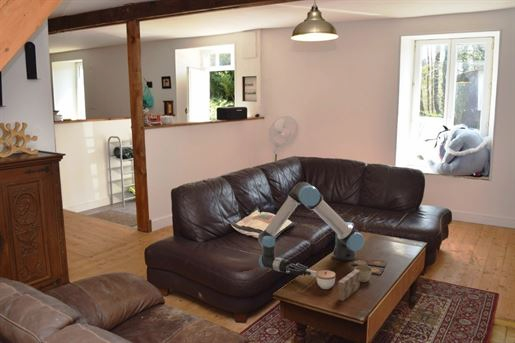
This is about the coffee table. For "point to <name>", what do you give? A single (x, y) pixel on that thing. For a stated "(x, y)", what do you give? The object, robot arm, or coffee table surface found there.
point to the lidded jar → (325, 279)
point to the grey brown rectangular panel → (348, 285)
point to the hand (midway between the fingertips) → (316, 274)
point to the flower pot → (364, 272)
